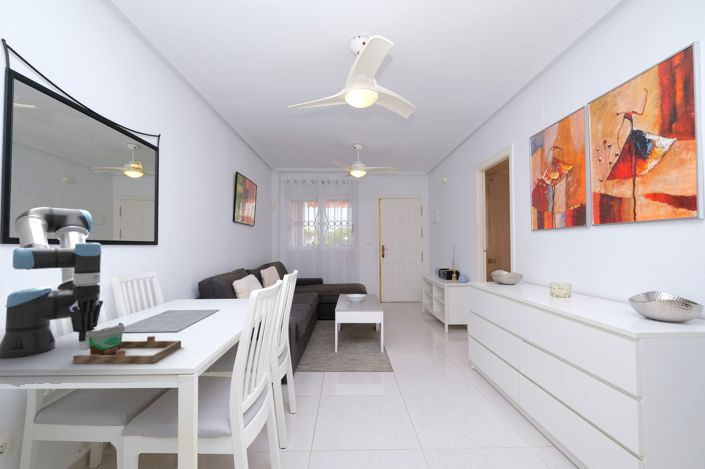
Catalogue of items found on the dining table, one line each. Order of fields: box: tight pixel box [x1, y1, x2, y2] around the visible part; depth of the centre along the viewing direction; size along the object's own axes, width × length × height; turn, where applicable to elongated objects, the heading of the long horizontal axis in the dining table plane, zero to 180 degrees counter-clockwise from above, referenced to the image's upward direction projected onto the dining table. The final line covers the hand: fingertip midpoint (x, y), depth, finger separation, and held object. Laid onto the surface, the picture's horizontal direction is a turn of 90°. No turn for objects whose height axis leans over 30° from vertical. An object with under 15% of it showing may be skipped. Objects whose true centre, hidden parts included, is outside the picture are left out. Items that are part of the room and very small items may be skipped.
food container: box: [87, 322, 126, 355], centre depth 112 cm, size 12×6×10 cm, turn 168°
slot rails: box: [72, 335, 182, 365], centre depth 112 cm, size 27×17×4 cm, turn 91°
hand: (84, 349), depth 112 cm, fingers closed
